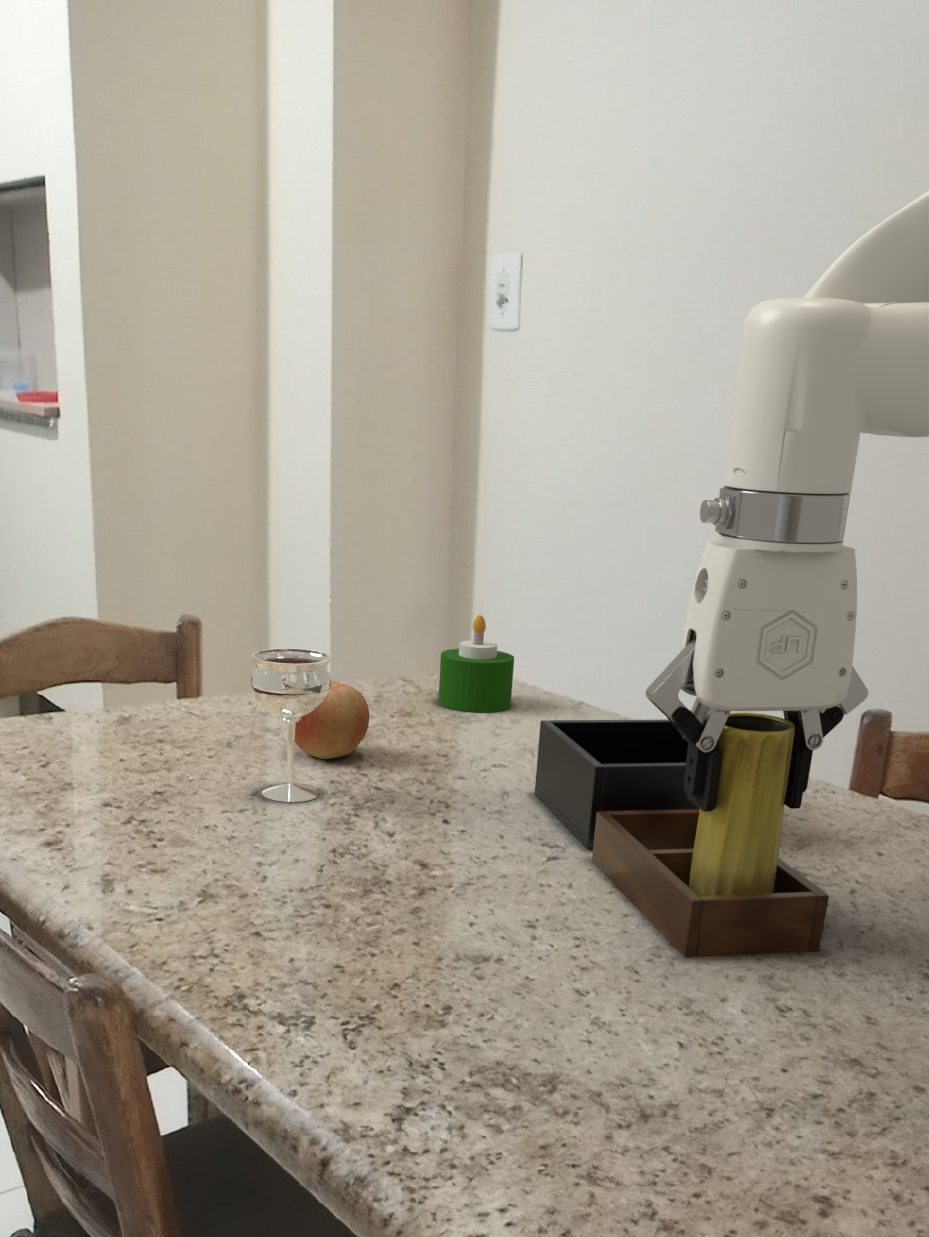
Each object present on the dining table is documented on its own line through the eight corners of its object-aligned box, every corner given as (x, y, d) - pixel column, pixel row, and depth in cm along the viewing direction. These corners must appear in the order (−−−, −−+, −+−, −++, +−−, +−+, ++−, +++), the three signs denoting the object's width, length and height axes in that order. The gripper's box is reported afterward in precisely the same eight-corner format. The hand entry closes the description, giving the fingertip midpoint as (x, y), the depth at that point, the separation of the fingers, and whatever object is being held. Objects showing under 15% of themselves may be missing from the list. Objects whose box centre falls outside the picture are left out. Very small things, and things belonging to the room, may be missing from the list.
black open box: (686, 791, 119) (695, 719, 117) (756, 844, 106) (768, 764, 104) (534, 794, 116) (540, 720, 114) (587, 849, 103) (595, 766, 100)
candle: (516, 699, 151) (522, 612, 147) (504, 715, 144) (510, 624, 140) (446, 692, 153) (451, 606, 149) (431, 707, 145) (435, 617, 142)
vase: (771, 913, 92) (801, 715, 86) (772, 946, 86) (804, 738, 81) (683, 902, 93) (707, 707, 88) (679, 935, 87) (704, 728, 82)
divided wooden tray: (706, 856, 103) (713, 808, 101) (819, 951, 86) (829, 895, 85) (591, 860, 101) (596, 811, 99) (684, 958, 84) (692, 900, 83)
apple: (305, 770, 120) (306, 684, 117) (273, 748, 127) (273, 666, 124) (382, 762, 124) (385, 679, 121) (348, 741, 130) (349, 662, 127)
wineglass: (287, 810, 109) (288, 667, 104) (235, 791, 113) (234, 653, 108) (345, 795, 113) (348, 658, 109) (293, 777, 118) (294, 645, 113)
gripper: (674, 526, 74) (642, 826, 81) (942, 530, 78) (889, 818, 85) (628, 512, 81) (601, 790, 88) (876, 517, 85) (832, 784, 91)
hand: (743, 801), depth 86 cm, fingers closed on vase, 5 cm apart
